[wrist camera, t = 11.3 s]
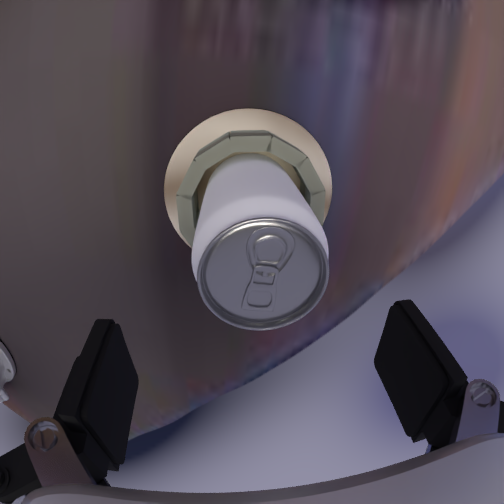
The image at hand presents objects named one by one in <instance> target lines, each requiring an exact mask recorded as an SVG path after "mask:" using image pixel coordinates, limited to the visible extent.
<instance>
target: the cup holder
mask: <svg viewBox="0 0 504 504" xmlns="http://www.w3.org/2000/svg"><path fill="white" fill-rule="evenodd" d="M247 153H254V154H261V155H265V156H268V157H270V158H271V159H273V160H274V161H276V162H277V163H278V164H279V165H280V166H281V167H282V168H283V169H284V170H285V171H286V173H287V174H288V175H289V177H290V178H291V180H292V181H293V182H294V184H295V185H296V187H297V188H298V190H299V191H300V193H301V194H302V196H303V197H304V199H305V200H306V202H307V203H308V205H309V206H310V208H311V209H312V211H313V213H314V214H315V216H316V217H317V219H318V221H319V223H320V224H321V226H323V223H324V220H325V218H326V216H327V213H328V210H329V207H330V203H331V196H332V179H331V172H330V168H329V165H328V162H327V159H326V157H325V155H324V152H323V151H322V149H321V147H320V146H319V144H318V143H317V141H316V140H315V139H314V138H313V137H312V135H311V134H310V133H309V132H307V131H306V130H305V129H304V128H303V127H302V126H300V125H299V124H297V123H296V122H295V121H293V120H291V119H289V118H287V117H285V116H283V115H281V114H278V113H275V112H272V111H268V110H262V109H253V108H244V109H234V110H230V111H226V112H222V113H220V114H217V115H214V116H212V117H210V118H209V119H207V120H205V121H203V122H202V123H200V124H199V125H198V126H196V127H195V128H194V129H193V130H192V131H191V132H189V133H188V134H187V135H186V136H185V137H184V139H183V140H182V141H181V142H180V144H179V145H178V146H177V148H176V150H175V152H174V153H173V155H172V157H171V160H170V162H169V165H168V167H167V171H166V176H165V183H164V198H165V204H166V209H167V212H168V215H169V218H170V220H171V222H172V224H173V226H174V228H175V230H176V231H177V233H178V234H179V236H180V237H181V238H182V239H183V240H184V242H185V243H186V244H187V245H188V246H189V247H191V248H192V247H193V241H194V236H195V231H196V227H197V223H198V218H199V214H200V210H201V206H202V202H203V198H204V195H205V191H206V187H207V184H208V181H209V179H210V177H211V175H212V173H213V172H214V170H215V169H216V168H217V167H218V166H219V165H220V164H221V163H222V162H224V161H225V160H227V159H229V158H230V157H233V156H236V155H239V154H247Z"/></svg>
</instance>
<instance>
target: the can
mask: <svg viewBox="0 0 504 504" xmlns="http://www.w3.org/2000/svg"><path fill="white" fill-rule="evenodd" d="M328 255H329V252H328V243H327V239H326V236H325V233H324V230H323V228H322V226H321V224H320V223H319V221H318V219H317V217H316V216H315V214H314V213H313V211H312V209H311V208H310V206H309V205H308V203H307V202H306V200H305V199H304V197H303V196H302V194H301V193H300V191H299V190H298V188H297V187H296V185H295V184H294V182H293V181H292V180H291V178H290V177H289V175H288V174H287V173H286V171H285V170H284V169H283V168H282V167H281V166H280V165H279V164H278V163H277V162H276V161H274V160H273V159H271V158H270V157H268V156H265V155H261V154H254V153H247V154H239V155H236V156H233V157H230V158H229V159H227V160H225V161H224V162H222V163H221V164H220V165H219V166H218V167H217V168H216V169H215V170H214V172H213V173H212V175H211V177H210V179H209V181H208V184H207V187H206V191H205V195H204V198H203V202H202V206H201V210H200V214H199V218H198V223H197V227H196V231H195V236H194V241H193V247H192V268H193V273H194V276H195V279H196V281H197V284H198V289H199V292H200V295H201V297H202V299H203V301H204V303H205V304H206V306H207V307H208V308H209V310H210V311H211V312H212V313H213V314H214V315H216V316H217V317H218V318H220V319H221V320H223V321H224V322H226V323H228V324H230V325H233V326H235V327H239V328H242V329H247V330H271V329H277V328H281V327H284V326H287V325H289V324H292V323H294V322H296V321H297V320H299V319H301V318H302V317H304V316H305V315H306V314H308V313H309V312H310V311H311V310H312V309H313V308H314V307H315V306H316V305H317V303H318V302H319V301H320V299H321V298H322V296H323V294H324V292H325V290H326V287H327V284H328V279H329V262H328Z"/></svg>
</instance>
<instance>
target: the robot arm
mask: <svg viewBox="0 0 504 504" xmlns="http://www.w3.org/2000/svg"><path fill="white" fill-rule="evenodd" d="M374 365H375V368H376V370H377V372H378V374H379V376H380V378H381V381H382V383H383V385H384V387H385V389H386V391H387V393H388V396H389V397H390V400H391V402H392V404H393V406H394V409H395V410H396V413H397V415H398V417H399V419H400V422H401V424H402V426H403V428H404V431H405V433H406V435H407V436H409V437H410V436H411V438H412V440H413V443H414V442H417V441H420V440H423V439H425V438H426V439H427V441H428V446H427V449H426V452H425V454H424V455H421V456H418V457H415V458H412V459H409V460H406V461H403V462H400V463H397V464H394V465H390V466H387V467H384V468H380V469H377V470H373V471H369V472H366V473H362V474H358V475H353V476H349V477H345V478H340V479H335V480H331V481H326V482H320V483H315V484H309V485H303V486H296V487H288V488H282V489H272V490H261V491H248V492H231V493H179V492H160V491H147V490H135V489H126V488H118V487H111V486H110V484H109V482H108V481H107V480H106V478H105V477H106V476H107V470H112V471H119V464H123V463H124V460H125V454H126V448H127V442H128V436H129V431H130V425H131V420H132V414H133V409H134V404H135V399H136V394H137V389H138V375H137V373H136V370H135V367H134V365H133V362H132V359H131V357H130V354H129V351H128V348H127V346H126V343H125V340H124V337H123V334H122V331H121V328H120V325H119V324H115V322H114V320H112V319H97V320H96V321H95V323H94V325H93V327H92V329H91V332H90V334H89V336H88V338H87V341H86V343H85V345H84V348H83V350H82V352H81V355H80V356H78V357H77V358H76V360H75V362H74V364H73V367H72V369H71V372H70V374H69V377H68V379H67V382H66V384H65V387H64V389H63V392H62V395H61V397H60V400H59V403H58V405H57V408H56V411H55V414H54V417H53V418H49V417H42V418H39V419H36V420H34V421H33V422H31V423H30V425H29V426H28V427H27V429H26V431H25V434H24V442H25V443H24V444H22V445H20V446H19V447H17V448H15V449H13V450H11V451H10V452H8V453H6V454H4V455H2V456H1V457H0V504H504V402H503V401H500V394H499V392H498V390H497V388H496V387H495V386H494V385H493V384H492V383H491V382H489V381H487V380H484V379H475V380H473V381H471V382H470V383H468V381H467V376H466V374H465V373H464V371H463V370H462V368H461V367H460V365H459V364H458V363H457V361H456V360H455V358H454V357H453V355H452V354H451V353H450V351H449V350H448V348H447V347H446V345H445V344H444V343H443V341H442V340H441V338H440V337H439V336H438V334H437V333H436V332H435V330H434V329H433V328H432V326H431V325H430V323H429V322H428V321H427V319H425V317H424V316H423V314H422V313H421V312H420V310H419V309H418V308H417V306H416V305H415V304H414V303H413V301H411V300H402V301H396V302H395V303H394V305H393V306H391V307H390V309H389V313H388V316H387V320H386V323H385V327H384V330H383V333H382V336H381V339H380V342H379V346H378V349H377V352H376V355H375V358H374ZM15 373H16V368H15V364H14V361H13V359H12V357H11V355H10V353H9V352H8V350H7V349H6V347H5V346H4V345H3V343H2V342H1V341H0V403H2V402H3V401H7V400H8V399H9V395H8V393H7V392H6V391H5V390H4V389H3V386H4V384H5V382H9V381H11V380H12V379H13V377H14V375H15Z"/></svg>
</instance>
